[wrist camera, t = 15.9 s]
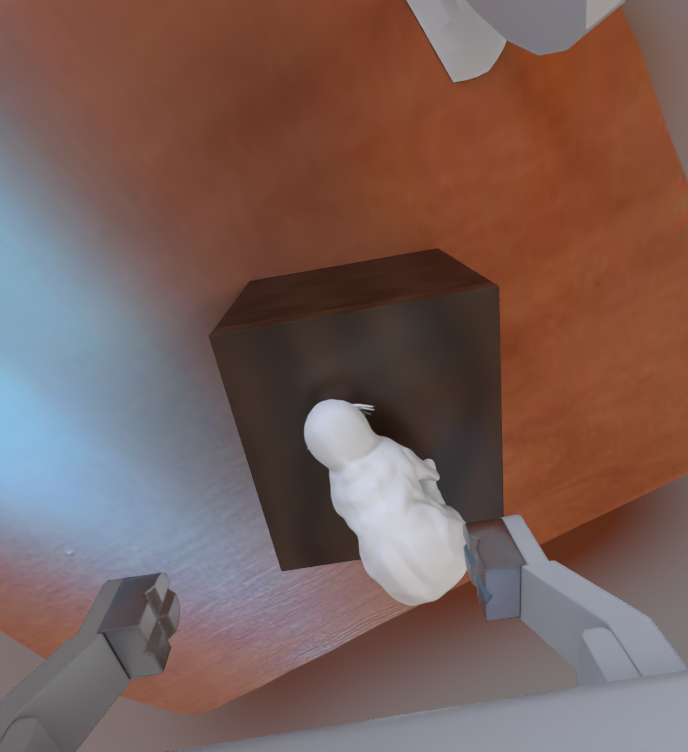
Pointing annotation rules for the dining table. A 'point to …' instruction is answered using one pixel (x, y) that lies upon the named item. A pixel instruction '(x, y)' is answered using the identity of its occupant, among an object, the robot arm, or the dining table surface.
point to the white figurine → (388, 504)
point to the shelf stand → (365, 385)
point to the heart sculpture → (503, 28)
